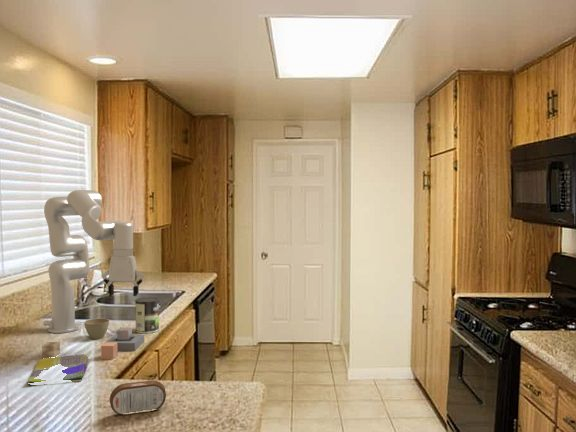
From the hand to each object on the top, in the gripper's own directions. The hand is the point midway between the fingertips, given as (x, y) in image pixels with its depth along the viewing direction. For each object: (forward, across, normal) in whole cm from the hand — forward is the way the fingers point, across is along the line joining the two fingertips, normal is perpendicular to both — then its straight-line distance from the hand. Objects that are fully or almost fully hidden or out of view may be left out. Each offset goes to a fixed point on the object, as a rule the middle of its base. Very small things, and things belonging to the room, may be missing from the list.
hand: (123, 295), depth 202 cm
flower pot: (+21, -15, +11) cm, 28 cm away
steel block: (+19, +1, -1) cm, 19 cm away
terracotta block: (+20, 0, -15) cm, 25 cm away
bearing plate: (+20, +1, -1) cm, 20 cm away
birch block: (+21, -22, -15) cm, 34 cm away
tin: (+20, +26, -62) cm, 71 cm away
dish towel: (+21, -12, -31) cm, 39 cm away
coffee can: (+21, +3, +23) cm, 31 cm away
